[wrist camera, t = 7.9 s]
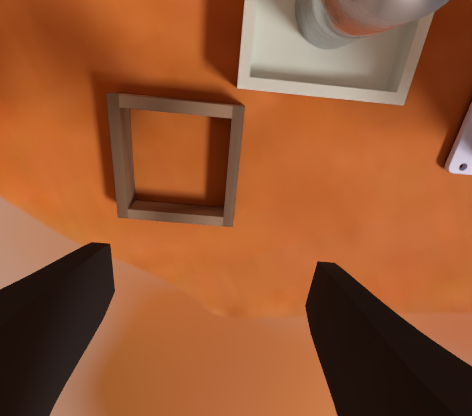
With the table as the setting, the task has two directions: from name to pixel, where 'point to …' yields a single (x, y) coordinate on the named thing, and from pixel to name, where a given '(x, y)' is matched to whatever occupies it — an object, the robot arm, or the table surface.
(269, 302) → the table surface
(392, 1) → the dowel pin
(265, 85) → the beige shallow square tray
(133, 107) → the walnut collar
